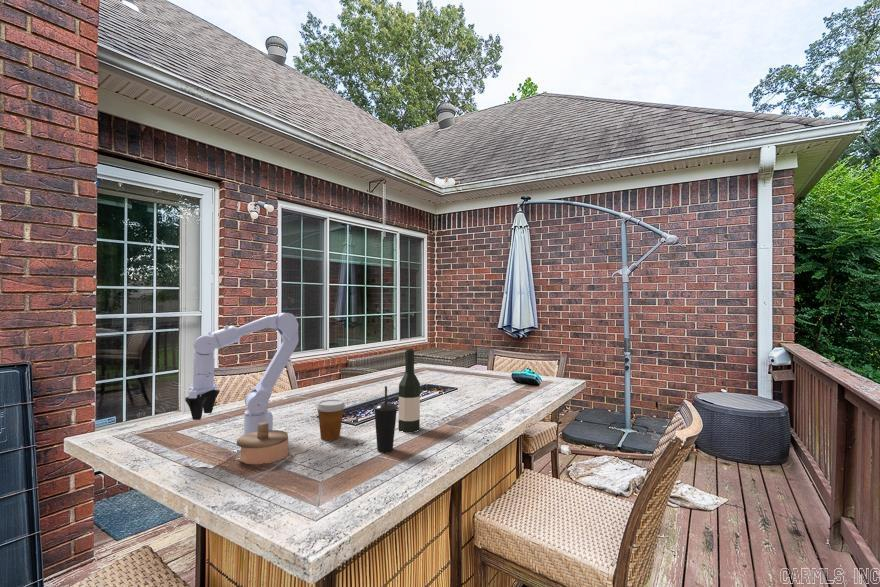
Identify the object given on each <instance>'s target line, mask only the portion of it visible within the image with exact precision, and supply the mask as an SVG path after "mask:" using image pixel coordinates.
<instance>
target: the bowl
mask: <svg viewBox="0 0 880 587" xmlns="http://www.w3.org/2000/svg"><path fill="white" fill-rule="evenodd" d="M240 450H241V453H240V461H241V462H242V463H244V464H245V465H262V464H263V463H265V464H271V463H274V461H275V462H277V460H278V461H280V460H283V459H284V458H286V457H287V456H288V455H289V437H288V438H287V440H286V441H284V442H282V443H280V444H277V445H274V446H269V447H263V448H243V447H240Z"/></svg>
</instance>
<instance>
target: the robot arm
mask: <svg viewBox="0 0 880 587" xmlns="http://www.w3.org/2000/svg"><path fill="white" fill-rule="evenodd" d="M299 326H300V325H299V322H298V319H297V318H296V316H295V315H294V314H292V313H290V312H278V313H277V314H271V315H267V316H264V317H261V318H258V319H256V320H253V321H251V322H248V323H246V324H244V325H241V326H239V327H237V326H235V325H230V326H229V325H224V326H223V328H221V329H219V330H215V331H213V332H212V331H209V332H208V333H207V334H208V335H201V336H198V337H197V338H196V339H195V341H194V344H193V348H194V350H195V352H194V356H193V357H194V359H193V372H192V373H193V377H192V379H193V380H192V386H190V387H189V388H188V390H189V392H188V396H187V397H185V398H184V401H185V402H186V404H187V405H188V408H189V410H190V414H191V418H192V421H201V419H202V416H203V414H212V413H213V410H214V406H215V403H216V400H217V397H218V395H219V394H220V391H221V390H220V389H217V382H215V356H214V355H215V350H216V349H218V350H219V349H222V348H225V347H227V346H230V345H233V344H235V343H238V342H239V341H240V339H241V338H242V337H244V336H246V335H248V334H249V335H250V334H252V333H255V332H257V331H260V330H263V329H276V330H277V332H278V333H279V335H280V338H281V340H282V341H281V343H280V345H279V347H278V349H276V350H277V351H276V352H275V354H274V355H273V357H272V359H271V361H270V362H269V364H268V366H267V368H266V369H265V372H264V373H263V375H262V376H261V377H260V380H259V382H257V384H256V385H254V387H253V389H252V390H251V391H250V392H248V393H247V394H246V396H245V397H244V405H245V406H246V410H245V411H244V415H243V416H244V417H243V419H244V420H243V435H245V434H248V433H252V432H257V431H258V424H259V423H263V422H267V423H269V429H268V430H274V429H273V428H274V427H273V426H274V423H273V421H274V416H273V414H272V412H271V411H270V410H269V409H268V407H269V401H270V398H271V396H272V393H273V388H274V387H275V385H276V383H277V382H278V380H279V378H280V376H281V374H282V373H283V371H284V369H285V368H286V365H287V364H288V362H289V360H290V358H291V356H292V355H293V353H294V351H295V350H296V348H297V346H298V344H299V341H300V340H299Z"/></svg>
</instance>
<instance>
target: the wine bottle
mask: <svg viewBox="0 0 880 587" xmlns="http://www.w3.org/2000/svg"><path fill="white" fill-rule="evenodd" d="M404 367H405V372H404V374H403V376H402V378H401V380H400V381H399V384H398V427H397V430H399V431H398V432H400V431H403V432H414V431H417V430H419V429H421V428H420V427H421V426H420V417H421V415H420V414H421V408H420V407H421V402H420V401H421V383H420V381H419V379H418V377H417V376H416V373H415V350H414V348H413V347H407V348H406V350H405V366H404ZM419 431H420V430H419ZM403 432H402V433H403ZM417 432H418V431H417ZM414 433H415V432H414Z"/></svg>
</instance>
